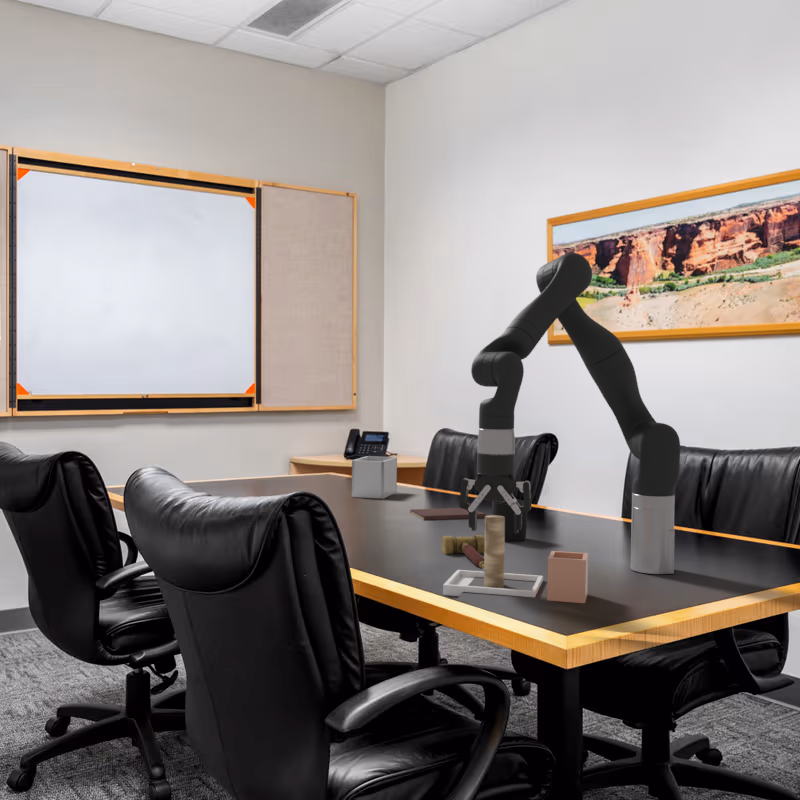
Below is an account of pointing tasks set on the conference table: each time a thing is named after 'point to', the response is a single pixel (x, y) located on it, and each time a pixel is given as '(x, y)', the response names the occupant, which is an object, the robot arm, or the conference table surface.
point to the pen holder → (510, 520)
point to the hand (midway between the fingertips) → (494, 531)
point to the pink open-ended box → (567, 576)
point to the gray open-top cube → (374, 477)
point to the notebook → (444, 514)
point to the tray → (464, 578)
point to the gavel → (466, 547)
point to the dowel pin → (494, 551)
